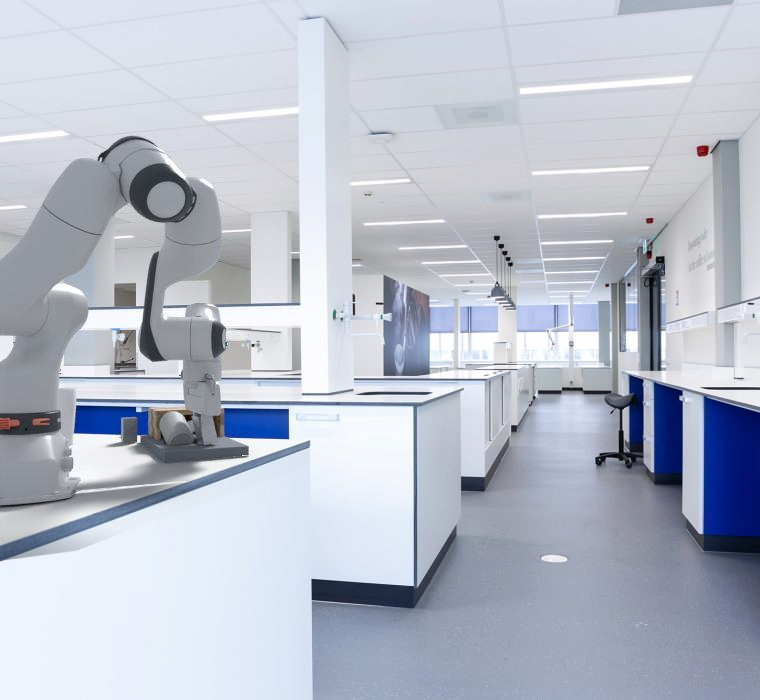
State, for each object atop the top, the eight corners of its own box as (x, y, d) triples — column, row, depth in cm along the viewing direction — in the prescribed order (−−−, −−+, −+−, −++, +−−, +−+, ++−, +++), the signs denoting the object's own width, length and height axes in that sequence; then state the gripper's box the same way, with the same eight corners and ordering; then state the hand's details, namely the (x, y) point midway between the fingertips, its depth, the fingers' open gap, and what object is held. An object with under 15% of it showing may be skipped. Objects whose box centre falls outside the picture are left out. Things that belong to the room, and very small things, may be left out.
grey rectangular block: (234, 435, 167) (228, 407, 166) (204, 445, 162) (198, 416, 161) (196, 429, 183) (191, 403, 182) (168, 438, 178) (162, 412, 177)
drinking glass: (81, 445, 182) (81, 387, 182) (67, 448, 175) (67, 389, 175) (56, 444, 183) (56, 387, 183) (41, 448, 176) (41, 389, 176)
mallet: (137, 444, 183) (137, 418, 183) (123, 445, 182) (123, 418, 182) (129, 439, 195) (129, 414, 195) (116, 439, 194) (116, 414, 194)
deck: (248, 456, 162) (248, 446, 162) (164, 462, 154) (164, 451, 154) (212, 440, 192) (212, 431, 192) (140, 444, 183) (140, 435, 183)
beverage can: (183, 425, 164) (173, 404, 174) (161, 443, 163) (152, 421, 173) (200, 442, 167) (189, 420, 177) (178, 459, 166) (169, 437, 176)
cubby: (224, 436, 182) (224, 408, 182) (156, 439, 174) (156, 411, 174) (212, 431, 192) (212, 405, 192) (148, 434, 184) (148, 407, 184)
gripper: (228, 374, 156) (227, 436, 156) (204, 371, 174) (204, 427, 174) (199, 375, 153) (199, 438, 153) (179, 372, 171) (178, 428, 171)
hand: (202, 432), depth 164 cm, fingers closed on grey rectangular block, 4 cm apart
